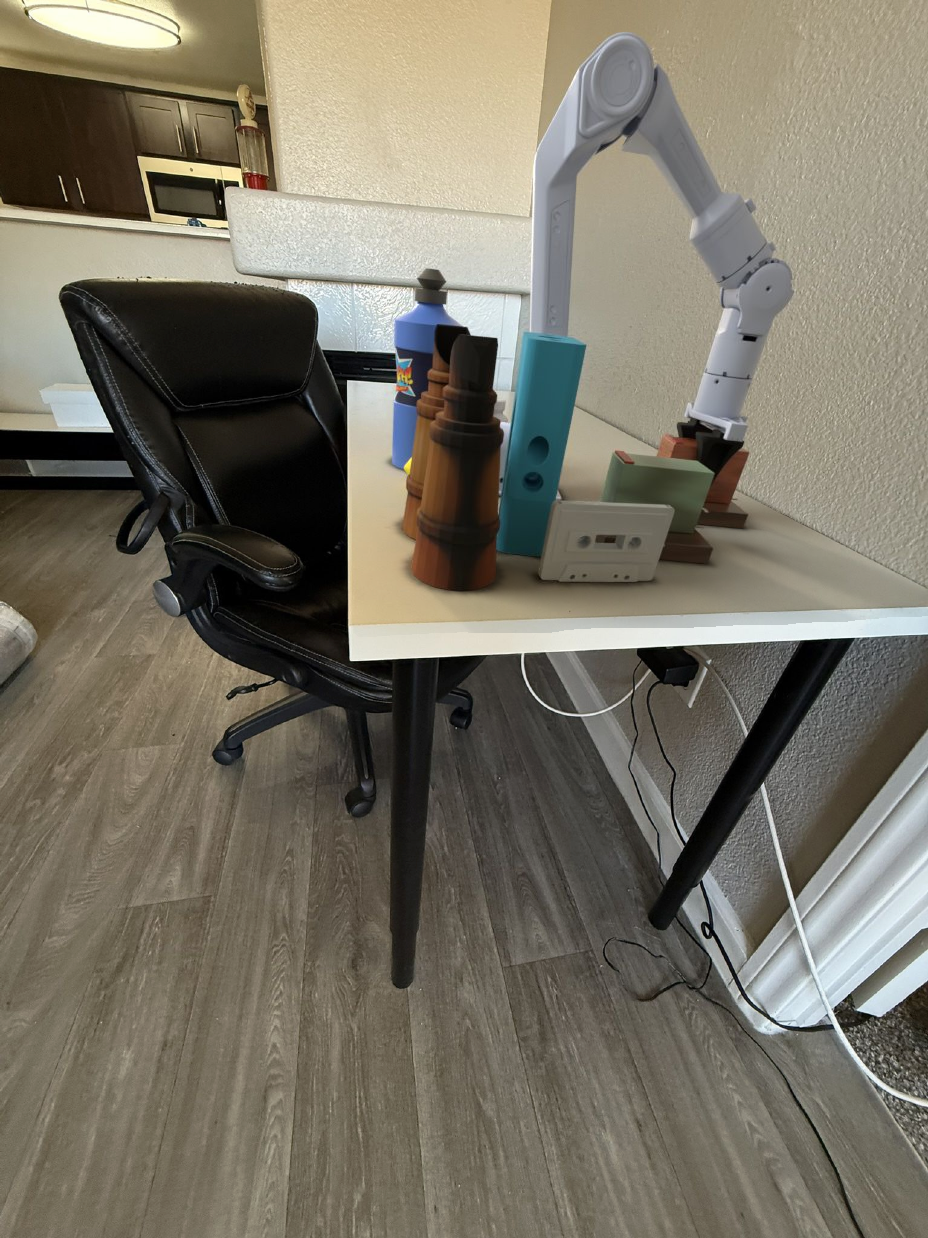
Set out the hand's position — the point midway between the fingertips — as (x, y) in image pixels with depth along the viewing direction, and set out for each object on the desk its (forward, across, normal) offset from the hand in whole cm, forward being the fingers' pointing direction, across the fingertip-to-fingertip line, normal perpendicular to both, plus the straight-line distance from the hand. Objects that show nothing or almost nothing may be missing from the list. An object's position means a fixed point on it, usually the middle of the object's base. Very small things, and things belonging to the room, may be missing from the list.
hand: (692, 482), depth 72 cm
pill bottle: (+4, +13, +28) cm, 31 cm away
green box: (+2, -13, +10) cm, 17 cm away
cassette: (+4, -25, +18) cm, 31 cm away
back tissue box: (+2, 0, 0) cm, 2 cm away
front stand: (+4, -13, +10) cm, 17 cm away
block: (+4, -17, +25) cm, 31 cm away
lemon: (+4, -3, +36) cm, 36 cm away
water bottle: (+4, +9, +38) cm, 39 cm away
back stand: (+4, 0, 0) cm, 4 cm away
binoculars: (+4, -21, +33) cm, 40 cm away
